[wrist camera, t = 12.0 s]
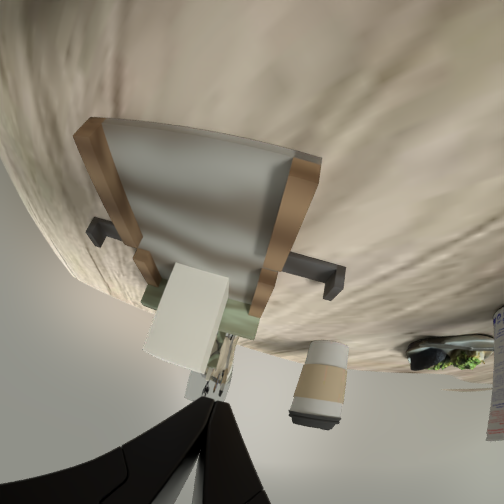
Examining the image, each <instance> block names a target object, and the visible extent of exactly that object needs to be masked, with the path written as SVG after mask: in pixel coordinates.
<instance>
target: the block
mask: <svg viewBox="0 0 504 504" xmlns="http://www.w3.org/2000/svg"><path fill="white" fill-rule="evenodd" d="M228 292H229V278H227V277H224V276H220V275H217V274H213V273H210V272H206V271H203V270H200V269H196V268H193V267H189V266H186V265H183V264H179V263H175V266H174V268H173V270H172V273H171V275H170V278H169V280H168V283H167V285H166V288H165V290H164V293H163V295H162V298H161V300H160V303H159V306H158V308H157V311H156V313H155V316H154V319H153V322H152V324H151V327H150V330H149V332H148V335H147V338H146V341H145V343H144V347H143V349H142V350H144V351H145V352H147V353H149V354H150V355H152V356H154V357H156V358H158V359H161V360H163V361H166V362H169V363H172V364H174V365H177V366H181V367H184V368H186V369H189V370H192V371H195V372H198V373H202V374H205V371H206V367H207V364H208V361H209V358H210V354H211V351H212V348H213V345H214V341H215V338H216V335H217V332H218V329H219V325H220V322H221V319H222V316H223V312H224V309H225V306H226V303H227V300H228Z"/></svg>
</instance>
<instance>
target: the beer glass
mask: <svg viewBox="0 0 504 504" xmlns="http://www.w3.org/2000/svg"><path fill="white" fill-rule="evenodd" d="M238 339H239V336H236V335H232V334H229V333H225V332H222V331H219V330H218V332H217V335H216V338H215V341H214V345H213V348H212V351H211V354H210V358H209V361H208V364H207V367H206V371H205V374H202V373H198V372H195V371H192V370H191V373H190V376H189V380H188V384H187V388H186V394H185V398H186V399H189V400H191V401H195V400H196V399H198V398H199V397H201V396H205V397H209V398H212V399H214V400H215V401H217V400H219V401H222V402H224V400H225V398H226V395H227V392H228V389H229V386H230V382H231V377H232V369H233V360H234V359H233V358H234V351H235V347H236V344H237V341H238Z"/></svg>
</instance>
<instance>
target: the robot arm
mask: <svg viewBox="0 0 504 504" xmlns="http://www.w3.org/2000/svg"><path fill="white" fill-rule="evenodd" d="M200 450H201V451H200ZM199 453H200V454H199ZM198 456H199V458H198ZM197 459H198V463H197V469H196V477H195V484H194V492H193V499H192V504H271V503H270V501H269V498H268V496H267V494H266V492H265V490H263V486H262V484H261V481H260V479H259V477H258V475H257V472H256V470H255V468H254V465H253V463H252V460H251V458H250V456H249V453H248V451H247V448H246V446H245V443H244V441H243V438H242V436H241V433H240V430H239V428H238V425H237V423H236V420H235V417H234V415H233V412H232V409H231V406H230V404H229V403H226V402H222V401H219V400H217V401H215V400H214V399H212V398H209V397H205V396H201V397H199V398H198V399H196V400H195V401H193V402H192V403H190V404H189V405H187V406H186V407H184V408H183V409H181V410H180V411H179V412H177V413H175V414H173V415H172V416H170V417H169V418H167V419H166V420H164V421H162V422H161V423H159V424H158V425H156V426H154V427H153V428H151V429H150V430H148V431H146V432H144V433H143V434H141V435H139V436H137V437H136V438H134V439H132V440H130V441H129V442H127V443H125V444H123V445H122V446H121V447H120V446H119V447H117V448H115V449H113V450H112V451H110V452H108V453H106V454H104V455H102V456H99V457H97V458H95V459H93V460H90V461H88V462H85V463H82V464H79V465H76V466H74V467H70V468H67V469H64V470H60V471H57V472H53V473H49V474H45V475H41V476H37V477H33V478H29V479H24V480H19V481H15V482H8V483H3V484H0V504H174V503H175V501H176V499H177V497H178V495H179V494H180V491H181V490H182V488H183V486H184V484H185V482H186V480H187V479H188V476H189V475H190V473H191V471H192V469H193V467H194V465H195V463H196V461H197Z"/></svg>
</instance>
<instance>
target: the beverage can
mask: <svg viewBox="0 0 504 504" xmlns="http://www.w3.org/2000/svg"><path fill="white" fill-rule="evenodd" d="M493 323H494V374H493V388H492V399H491V407H490V416H489V421H488V428H487V438H486V441H502V440H504V307H502V308H501V309H499V310H498V311H497V312H496V313H495V315H494V316H493Z"/></svg>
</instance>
